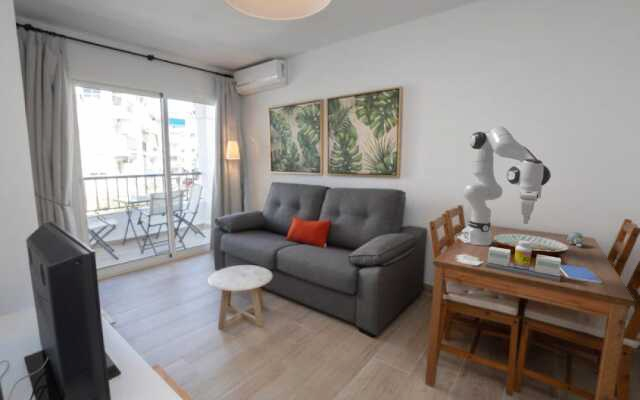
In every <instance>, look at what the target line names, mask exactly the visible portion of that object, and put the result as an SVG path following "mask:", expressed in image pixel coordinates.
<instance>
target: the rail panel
mask: <svg viewBox="0 0 640 400" xmlns="http://www.w3.org/2000/svg"><path fill="white" fill-rule="evenodd" d="M509 264H514V262H510V263H509ZM485 268H490V269H494V270H500V271H504V272H509V273H514V274H519V275H524V276H529V277H534V278H539V279H544V280H548V281H553V282H558V283H560V282H561V276H560V277H559V276H554V275H548V274H543V273H538V272H533V271H528V270H523V269H518V268H513V267H508V266H503V265H497V264H492V263H487V262H486V263H485ZM530 268H535V266H530ZM559 273H560V274H561V272H560V271H559Z"/></svg>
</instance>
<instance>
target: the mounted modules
mask: <svg viewBox="0 0 640 400" xmlns="http://www.w3.org/2000/svg"><path fill="white" fill-rule="evenodd" d="M511 251H512V250H511V249H508V248H502V247H495V246H490V247H489V248H488V254H487V261H488V263H493V264H498V265H503V266H508V265H509V263H511V262H510V260H511ZM561 262H562V259H561V258H560V257H555V256H549V255H544V254H539V253H538V254H536V257H535V266H534V267H535V272H539V273H544V274H549V275H555V276H559V272H560V271H561V269H560V265H561V264H562V263H561Z"/></svg>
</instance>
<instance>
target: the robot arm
mask: <svg viewBox="0 0 640 400" xmlns="http://www.w3.org/2000/svg"><path fill="white" fill-rule="evenodd" d="M469 143H470V147H471V148H472V149H473V150H474V155H473V174H474V176H475V177H477V178H478V181H479V183H472V184H467V185H466V186H465V187H464V188H463V193H462V194H463V197H464V198H465V199H466V201H468V203H469V205H470V211H471V212H470V220H469V221H468V225H467V226H466V227H465V228H463V229H462V230H461V234H460V235H457V236H456V237H457V239H459V240H460V241H461V242H462V243H464V244H467V245H468V244H469V245H475V246H476V245H477V246H491V245H492V243H493V240H492V231H491V226H492V225H491V215H492V211H491V208H489V207H488V206H487V205H486V201H493V200H497V199H500V198H501V197H502V194H503V188H502V186H501V185H500V184H499V183H498V182H497V179H496V178H495V173H494V153H495V154H496V155H498V156H499V157H502V158H505V159H513V160H517V161H519V162H521V163H520V164H518V165H514V166H511V167H510V168H509V170H507V173H506V179H507V181H508V182H509V183H510V185H516V186H519V187H518V198H519V199H520V213H521V215H522V216H523V224H524V225H528V224H529V221H530V220H531V215H532V213H533V211H534V208H535V202H538V199H541V198H542V189H543V186H544V185H546V184H547V183H549V181H550V179H551V177H552V176H551V171H550V169H549V168H548V167H547V166H546V165H544V162H543V161H542V160H540V159H538V158H537V157H536V156H535V155H534V154H533V153H532V152H531V151H530V149H528V148H527V147H525V146H524V145H522V144H521V143H519V142H518V141H517V140H516V139H515V138H514V137H513V135H512V133H511V132H510V130H508V129H507V128H506V127H505V126H501V125H500V126H499V125H498V126H495V127H493V128H491V130H490V131H489V130H486V131H477V132H474V133H472V135H471V136H470V139H469Z"/></svg>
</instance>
